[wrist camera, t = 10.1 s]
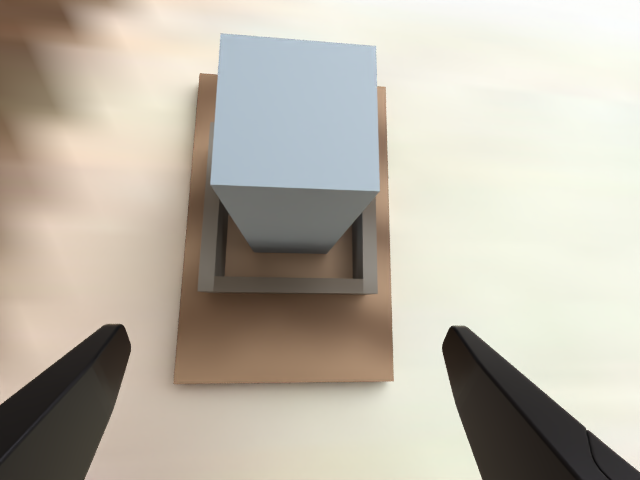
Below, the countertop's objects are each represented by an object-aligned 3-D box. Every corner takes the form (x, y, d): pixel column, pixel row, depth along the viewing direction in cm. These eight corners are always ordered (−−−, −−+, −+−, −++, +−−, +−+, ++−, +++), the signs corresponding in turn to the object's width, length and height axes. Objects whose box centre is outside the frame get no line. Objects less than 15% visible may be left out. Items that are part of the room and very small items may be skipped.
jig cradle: (387, 376, 22) (411, 394, 18) (179, 379, 21) (153, 398, 16) (380, 96, 25) (399, 57, 21) (204, 84, 24) (187, 39, 20)
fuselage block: (326, 253, 22) (379, 191, 9) (254, 252, 21) (210, 184, 9) (326, 185, 22) (376, 46, 10) (256, 182, 22) (220, 33, 10)
